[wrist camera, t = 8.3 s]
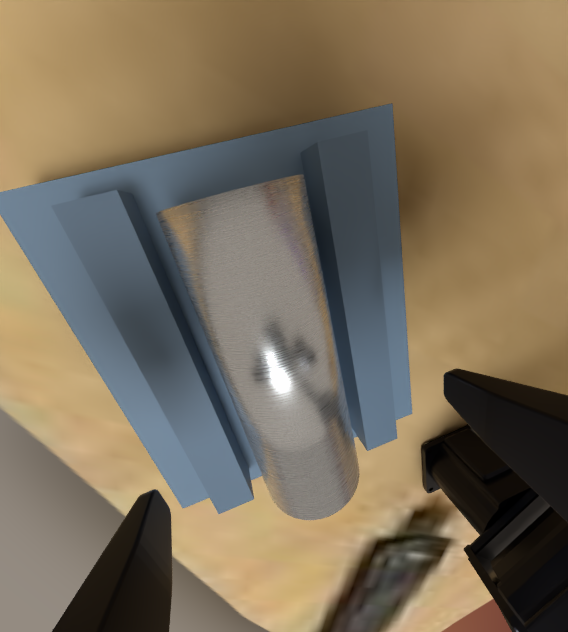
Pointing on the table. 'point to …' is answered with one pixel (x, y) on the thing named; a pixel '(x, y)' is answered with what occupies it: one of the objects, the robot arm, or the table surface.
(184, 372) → the cradle
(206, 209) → the axle
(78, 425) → the table surface
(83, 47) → the table surface
